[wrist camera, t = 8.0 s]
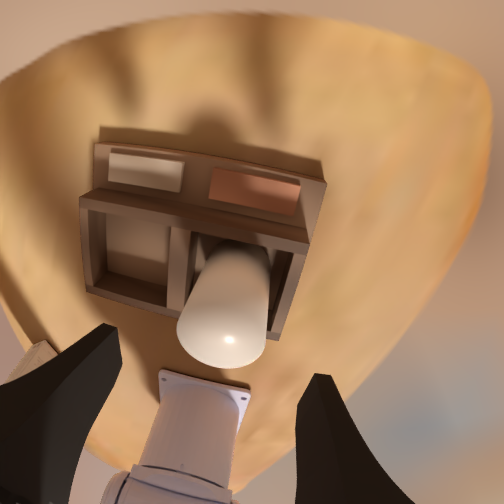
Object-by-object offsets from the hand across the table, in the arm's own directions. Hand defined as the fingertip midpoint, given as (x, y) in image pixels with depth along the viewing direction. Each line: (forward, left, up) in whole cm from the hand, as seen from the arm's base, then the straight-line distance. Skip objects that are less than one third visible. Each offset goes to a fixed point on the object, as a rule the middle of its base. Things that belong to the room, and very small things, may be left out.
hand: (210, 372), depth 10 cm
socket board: (+1, +3, -9) cm, 9 cm away
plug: (0, 0, -8) cm, 8 cm away
